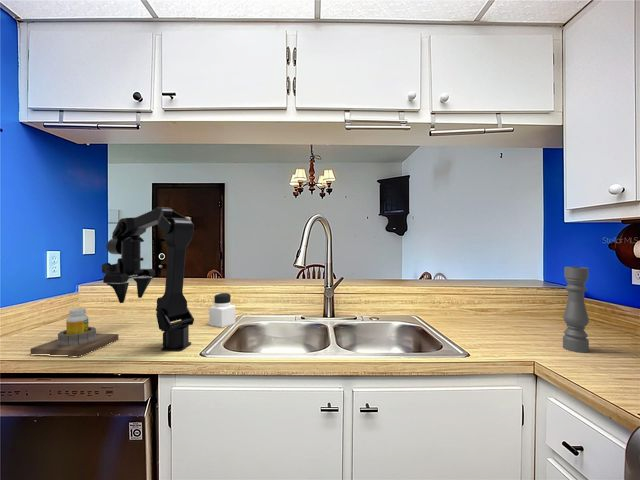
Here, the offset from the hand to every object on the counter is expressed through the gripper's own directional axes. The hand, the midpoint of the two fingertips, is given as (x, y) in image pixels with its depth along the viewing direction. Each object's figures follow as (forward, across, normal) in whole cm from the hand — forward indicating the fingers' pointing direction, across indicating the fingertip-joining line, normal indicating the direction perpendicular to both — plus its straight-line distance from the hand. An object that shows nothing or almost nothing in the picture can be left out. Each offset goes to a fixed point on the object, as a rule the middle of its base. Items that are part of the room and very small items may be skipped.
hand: (131, 300), depth 109 cm
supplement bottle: (+10, +13, -8) cm, 18 cm away
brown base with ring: (+12, +13, -8) cm, 19 cm away
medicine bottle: (+12, -16, +26) cm, 33 cm away
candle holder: (+12, 0, +144) cm, 145 cm away
